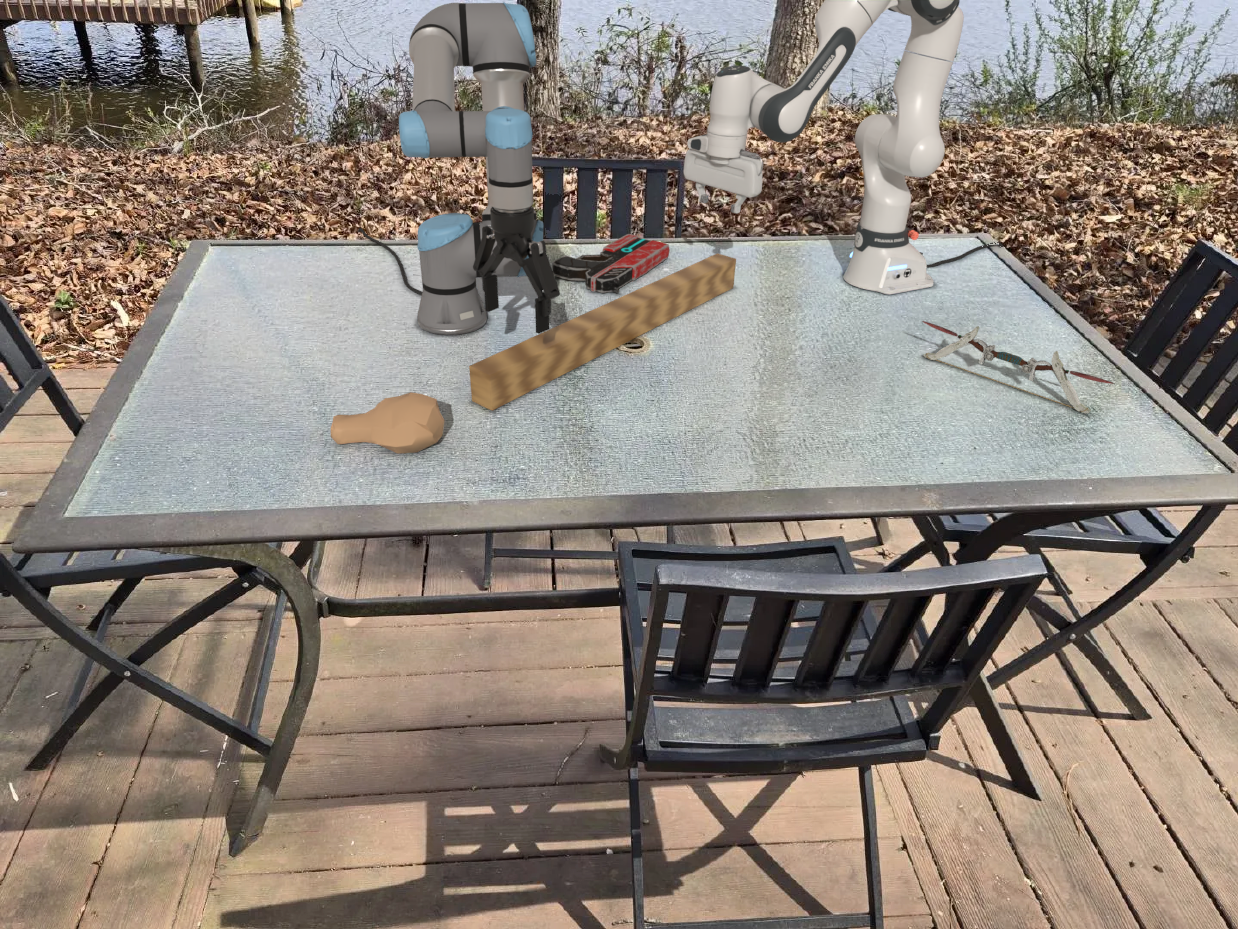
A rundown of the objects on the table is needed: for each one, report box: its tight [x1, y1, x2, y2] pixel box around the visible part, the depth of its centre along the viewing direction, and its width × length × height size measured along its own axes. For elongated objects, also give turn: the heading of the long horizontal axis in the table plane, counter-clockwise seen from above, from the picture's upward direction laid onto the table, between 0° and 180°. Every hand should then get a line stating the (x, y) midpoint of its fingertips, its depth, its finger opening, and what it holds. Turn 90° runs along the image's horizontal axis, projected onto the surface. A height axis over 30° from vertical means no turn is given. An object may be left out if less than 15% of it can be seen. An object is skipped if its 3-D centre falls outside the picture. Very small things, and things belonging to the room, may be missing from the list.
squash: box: [330, 392, 446, 455], centre depth 152 cm, size 11×20×9 cm, turn 90°
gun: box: [551, 233, 671, 294], centre depth 224 cm, size 4×31×19 cm
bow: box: [921, 320, 1114, 414], centre depth 176 cm, size 39×2×10 cm, turn 47°
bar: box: [468, 253, 737, 412], centre depth 190 cm, size 82×6×8 cm, turn 140°
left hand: (516, 320), depth 163 cm, fingers open, 13 cm apart
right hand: (718, 207), depth 203 cm, fingers open, 8 cm apart
